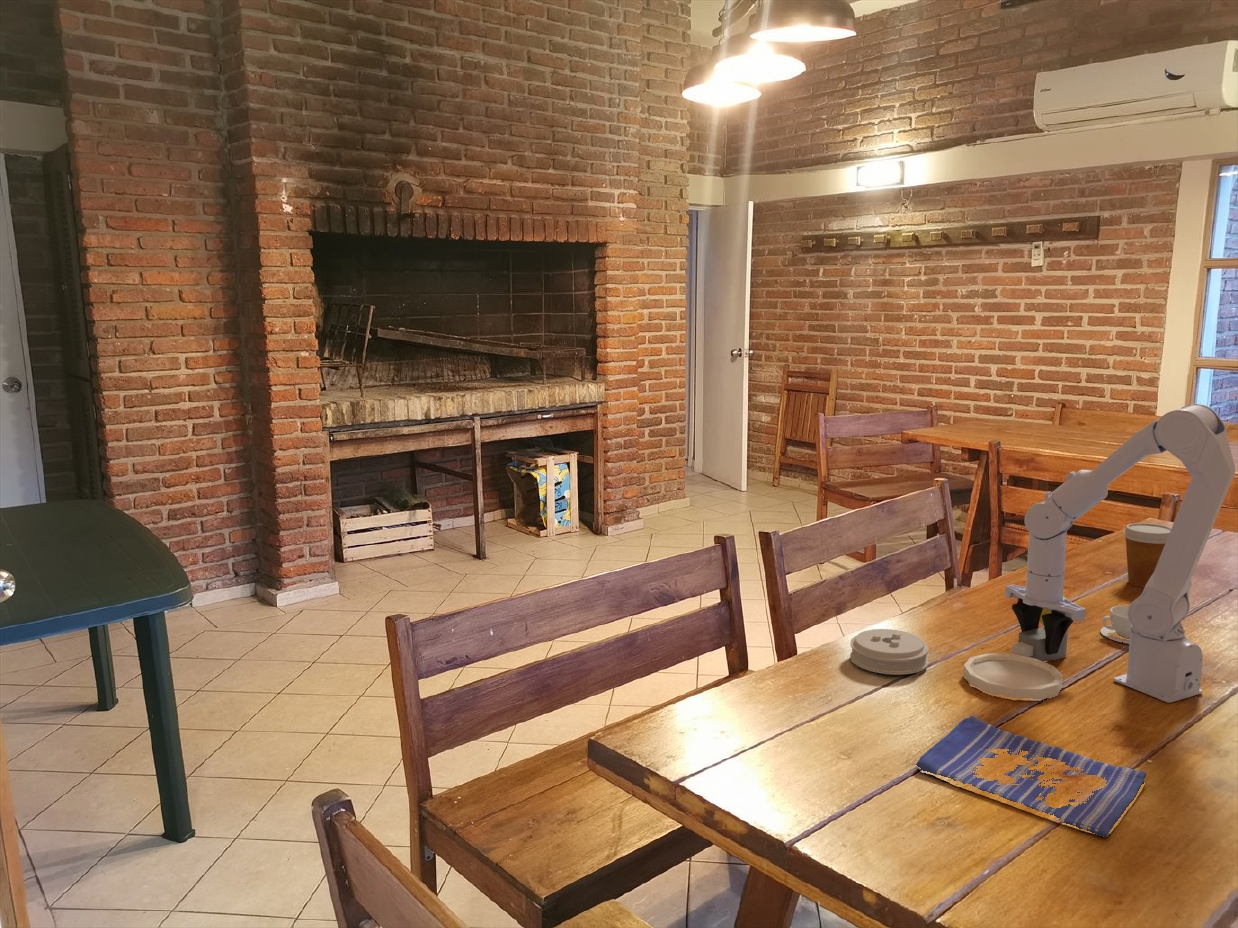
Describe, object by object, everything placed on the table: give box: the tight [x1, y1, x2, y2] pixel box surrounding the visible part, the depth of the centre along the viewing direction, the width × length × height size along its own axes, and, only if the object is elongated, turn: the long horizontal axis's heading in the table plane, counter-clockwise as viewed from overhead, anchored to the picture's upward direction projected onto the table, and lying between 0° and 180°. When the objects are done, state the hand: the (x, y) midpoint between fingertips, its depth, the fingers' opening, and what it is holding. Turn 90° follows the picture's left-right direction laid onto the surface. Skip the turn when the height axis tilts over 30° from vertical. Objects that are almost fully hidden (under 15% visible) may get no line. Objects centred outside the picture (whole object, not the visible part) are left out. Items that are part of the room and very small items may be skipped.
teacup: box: [1099, 605, 1131, 645], centre depth 163 cm, size 10×10×5 cm
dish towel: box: [915, 715, 1148, 838], centre depth 118 cm, size 17×24×3 cm
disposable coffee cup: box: [1122, 522, 1172, 588], centre depth 191 cm, size 10×10×12 cm
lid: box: [849, 628, 930, 676], centre depth 154 cm, size 13×13×5 cm
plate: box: [963, 652, 1064, 699], centre depth 146 cm, size 14×14×2 cm
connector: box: [1011, 626, 1069, 662], centre depth 155 cm, size 4×10×4 cm, turn 114°
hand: (1040, 648), depth 155 cm, fingers open, 4 cm apart
